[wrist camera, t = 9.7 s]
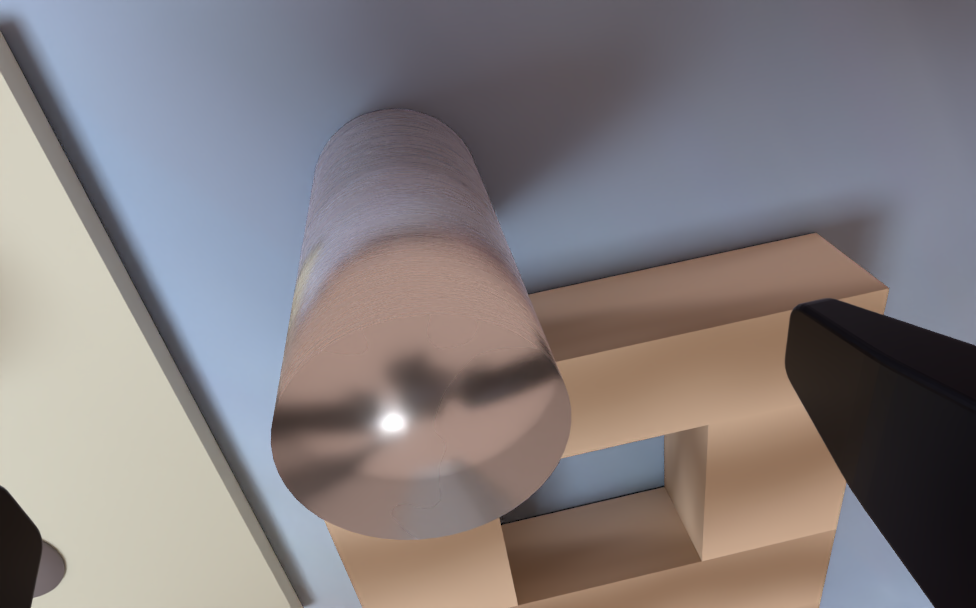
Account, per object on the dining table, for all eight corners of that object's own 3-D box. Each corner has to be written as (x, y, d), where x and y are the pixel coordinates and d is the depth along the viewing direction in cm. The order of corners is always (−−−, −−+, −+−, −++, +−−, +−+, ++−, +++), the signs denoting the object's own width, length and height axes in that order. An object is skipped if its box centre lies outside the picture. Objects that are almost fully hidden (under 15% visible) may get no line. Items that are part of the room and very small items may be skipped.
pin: (489, 245, 14) (581, 504, 8) (338, 277, 14) (321, 564, 8) (464, 93, 12) (558, 284, 6) (291, 127, 12) (223, 355, 6)
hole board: (756, 654, 25) (792, 725, 23) (444, 732, 24) (452, 812, 22) (816, 232, 15) (888, 288, 13) (293, 345, 14) (281, 423, 12)
